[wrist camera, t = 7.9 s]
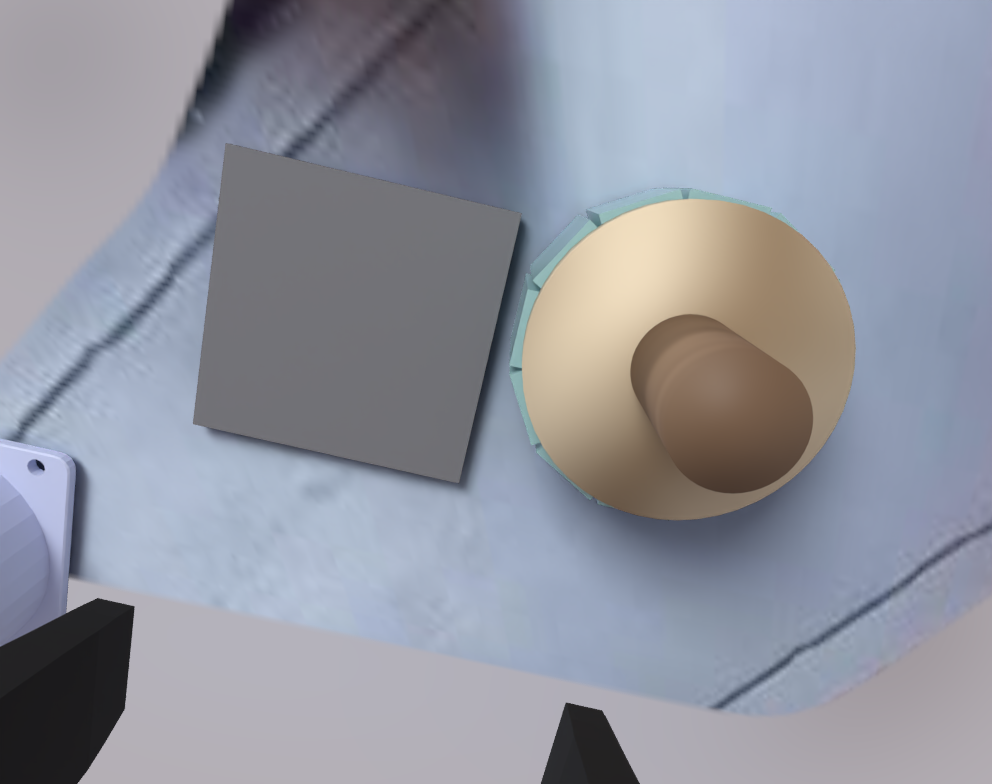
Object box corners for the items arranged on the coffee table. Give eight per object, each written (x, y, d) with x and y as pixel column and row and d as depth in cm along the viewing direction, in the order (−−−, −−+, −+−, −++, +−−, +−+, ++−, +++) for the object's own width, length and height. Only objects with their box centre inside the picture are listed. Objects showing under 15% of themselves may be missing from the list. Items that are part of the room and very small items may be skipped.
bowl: (486, 436, 21) (481, 478, 18) (552, 161, 19) (559, 156, 16) (745, 494, 22) (783, 546, 19) (839, 230, 19) (900, 239, 16)
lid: (488, 466, 18) (478, 561, 14) (570, 160, 16) (592, 151, 12) (773, 536, 19) (859, 653, 14) (891, 246, 16) (1037, 270, 12)
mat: (198, 419, 22) (192, 424, 21) (231, 144, 19) (225, 143, 19) (459, 478, 22) (459, 483, 21) (521, 213, 20) (521, 213, 19)
